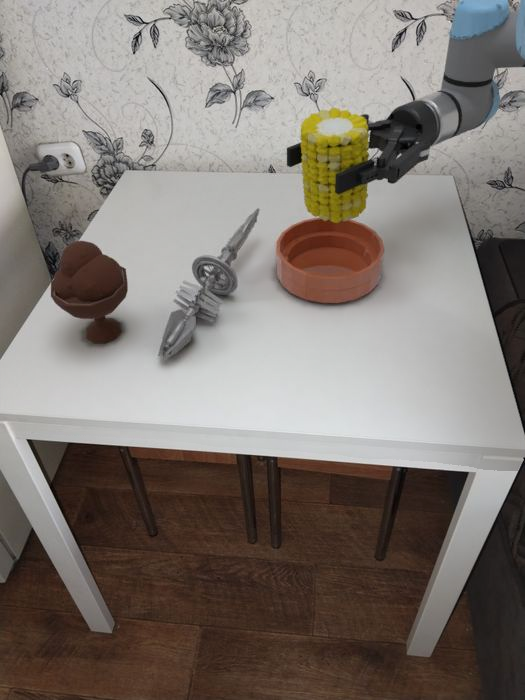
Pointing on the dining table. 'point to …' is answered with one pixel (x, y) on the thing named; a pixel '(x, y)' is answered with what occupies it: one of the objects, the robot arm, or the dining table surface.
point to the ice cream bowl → (90, 288)
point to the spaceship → (204, 291)
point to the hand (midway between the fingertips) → (312, 170)
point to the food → (333, 162)
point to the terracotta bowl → (329, 260)
